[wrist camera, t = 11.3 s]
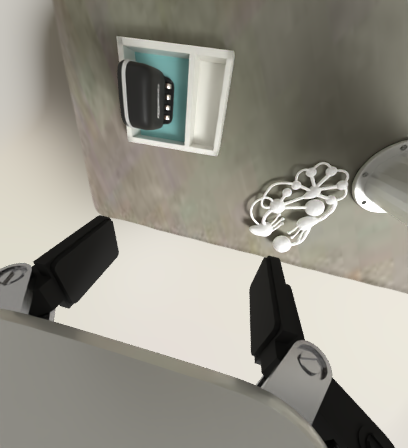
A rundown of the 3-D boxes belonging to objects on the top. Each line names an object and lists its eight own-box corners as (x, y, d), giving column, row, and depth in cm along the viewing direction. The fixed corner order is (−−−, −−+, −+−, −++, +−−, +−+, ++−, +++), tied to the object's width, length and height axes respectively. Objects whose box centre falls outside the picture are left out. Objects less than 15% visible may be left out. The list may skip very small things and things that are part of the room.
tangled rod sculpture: (307, 140, 31) (315, 142, 27) (364, 189, 32) (378, 197, 29) (236, 215, 40) (235, 224, 37) (283, 250, 42) (286, 261, 39)
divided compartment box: (234, 58, 25) (234, 50, 22) (219, 151, 33) (217, 156, 29) (131, 45, 26) (116, 35, 23) (139, 138, 34) (128, 141, 30)
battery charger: (176, 127, 31) (149, 135, 22) (156, 123, 31) (120, 128, 22) (180, 77, 27) (148, 59, 18) (156, 73, 27) (113, 52, 18)
